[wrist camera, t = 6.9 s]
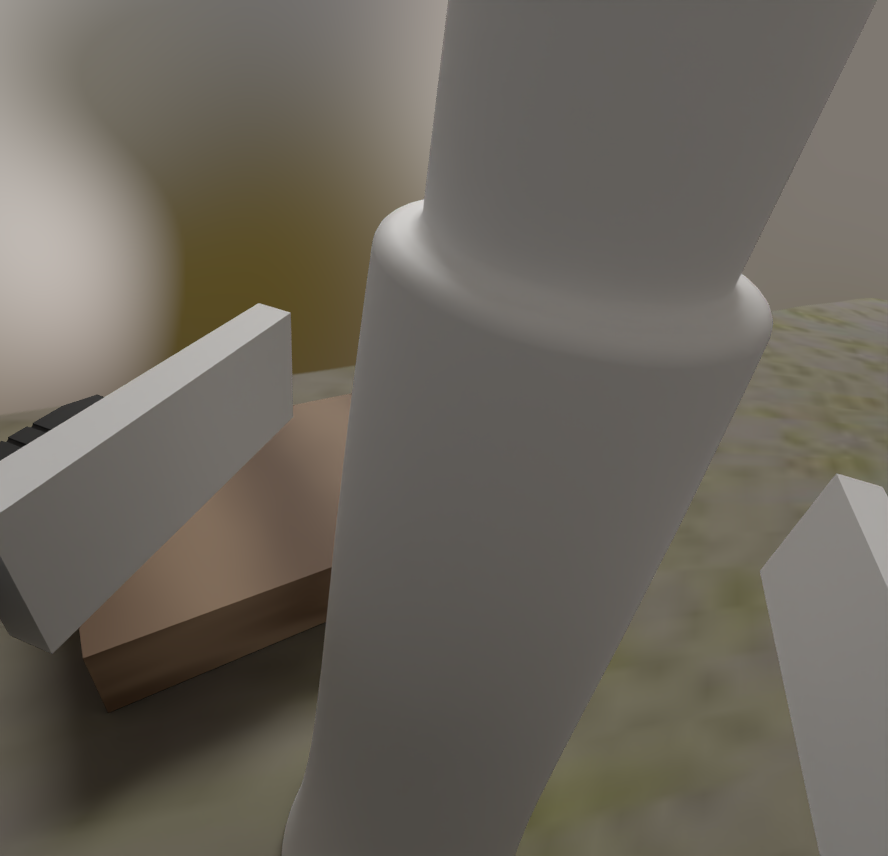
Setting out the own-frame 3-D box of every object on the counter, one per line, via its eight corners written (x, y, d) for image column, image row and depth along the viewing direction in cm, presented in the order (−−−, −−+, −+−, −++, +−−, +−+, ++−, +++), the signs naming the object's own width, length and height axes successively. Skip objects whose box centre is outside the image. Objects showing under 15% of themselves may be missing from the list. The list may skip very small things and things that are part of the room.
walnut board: (389, 432, 29) (395, 384, 27) (487, 554, 23) (502, 504, 21) (79, 509, 22) (58, 452, 20) (108, 712, 16) (82, 658, 14)
